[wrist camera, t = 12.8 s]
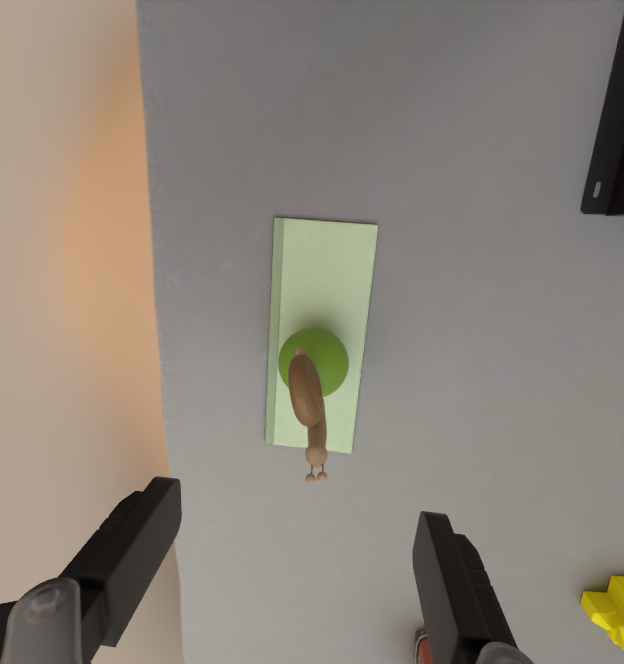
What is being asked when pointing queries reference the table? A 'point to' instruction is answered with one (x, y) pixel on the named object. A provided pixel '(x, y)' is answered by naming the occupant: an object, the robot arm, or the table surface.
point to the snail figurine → (313, 385)
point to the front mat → (319, 316)
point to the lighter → (422, 647)
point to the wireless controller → (609, 148)
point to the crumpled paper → (608, 609)
